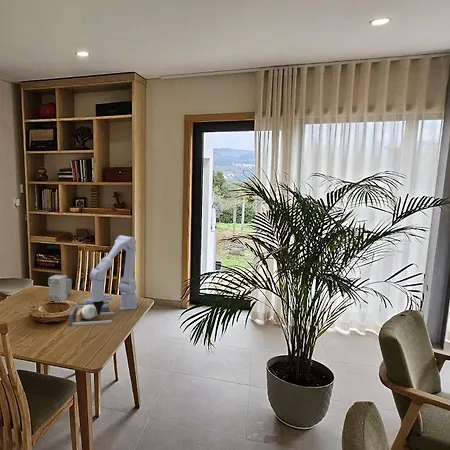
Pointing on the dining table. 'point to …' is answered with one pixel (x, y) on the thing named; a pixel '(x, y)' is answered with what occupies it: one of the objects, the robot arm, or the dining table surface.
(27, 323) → the dining table surface
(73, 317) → the rail mount
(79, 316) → the tan rectangular box
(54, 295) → the circuit breaker
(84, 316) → the white rounded piece
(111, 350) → the dining table surface
